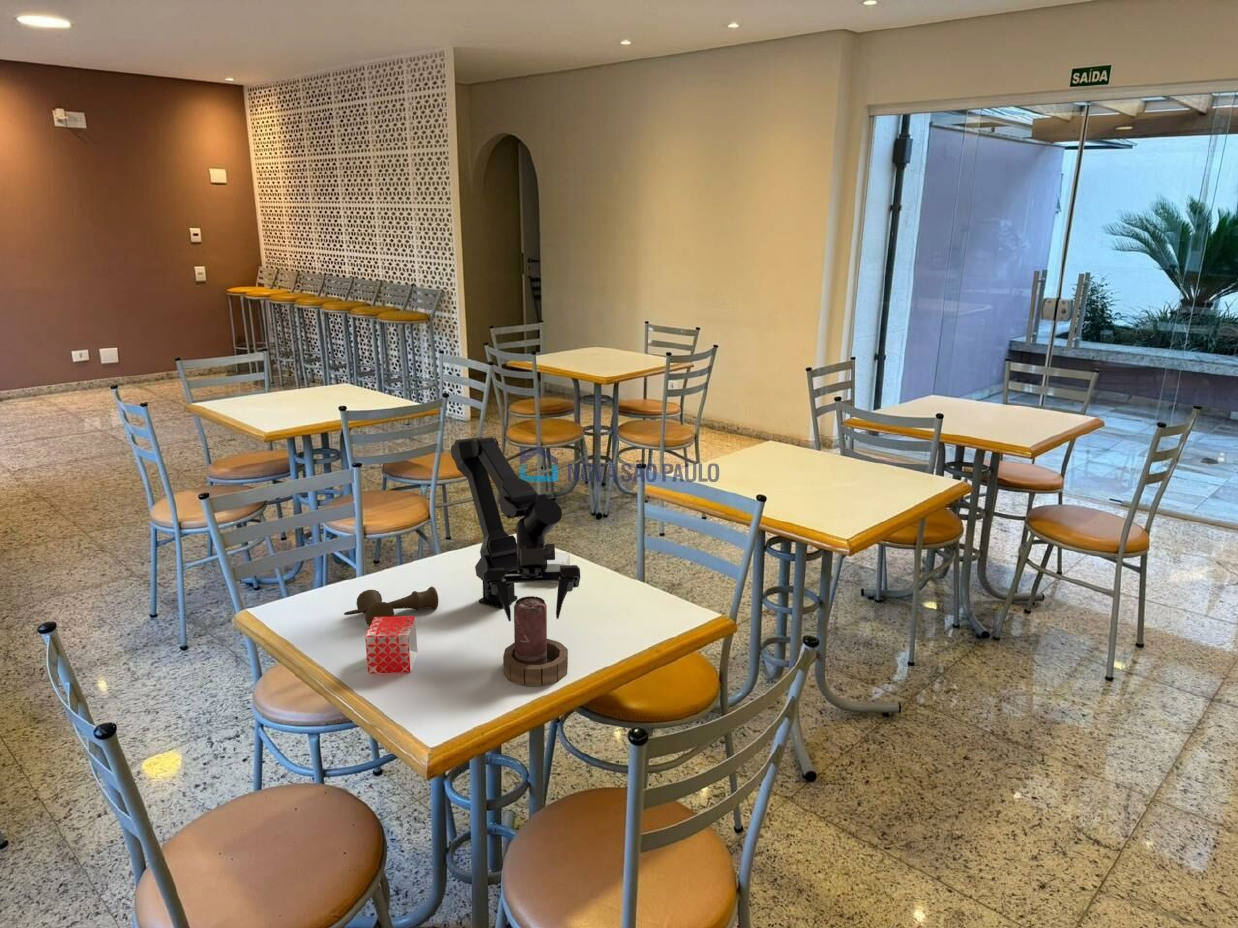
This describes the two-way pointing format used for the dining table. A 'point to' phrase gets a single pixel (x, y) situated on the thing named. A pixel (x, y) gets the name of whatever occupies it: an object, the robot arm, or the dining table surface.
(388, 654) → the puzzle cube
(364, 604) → the kendama
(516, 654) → the can
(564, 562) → the small box
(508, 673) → the walnut ring
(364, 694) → the dining table surface
